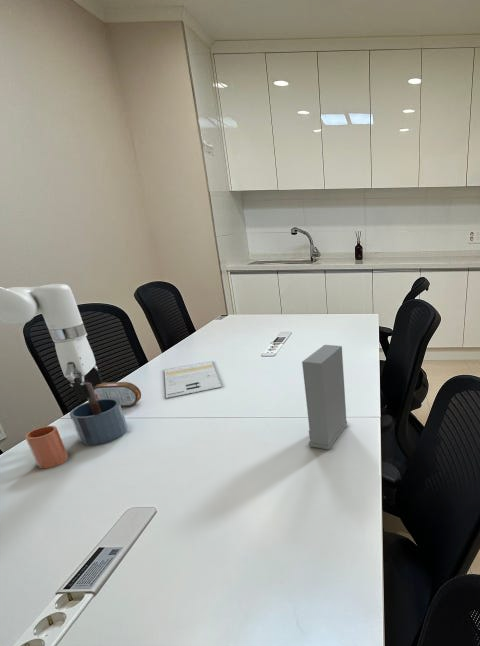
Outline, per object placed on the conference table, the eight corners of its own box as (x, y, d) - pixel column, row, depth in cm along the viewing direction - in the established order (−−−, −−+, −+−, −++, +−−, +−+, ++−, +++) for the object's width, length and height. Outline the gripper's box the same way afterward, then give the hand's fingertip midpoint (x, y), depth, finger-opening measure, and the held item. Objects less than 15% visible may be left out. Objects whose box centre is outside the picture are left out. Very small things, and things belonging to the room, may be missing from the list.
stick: (99, 435, 113) (81, 385, 107) (101, 431, 115) (83, 382, 109) (107, 433, 114) (89, 384, 107) (109, 430, 116) (91, 381, 109)
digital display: (211, 361, 168) (221, 386, 144) (211, 362, 168) (221, 386, 144) (164, 369, 161) (166, 397, 136) (164, 370, 161) (166, 398, 136)
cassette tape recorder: (328, 422, 118) (321, 344, 108) (347, 425, 116) (342, 345, 106) (308, 446, 106) (298, 361, 96) (328, 450, 104) (321, 363, 94)
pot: (73, 449, 108) (62, 420, 104) (88, 428, 118) (78, 401, 115) (122, 441, 111) (112, 413, 107) (132, 421, 122) (124, 395, 118)
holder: (33, 470, 99) (19, 440, 95) (45, 456, 105) (32, 428, 101) (62, 465, 101) (50, 436, 97) (72, 452, 106) (60, 424, 103)
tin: (144, 402, 134) (137, 380, 130) (140, 406, 131) (133, 384, 127) (99, 404, 133) (91, 382, 130) (94, 409, 130) (86, 386, 127)
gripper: (65, 325, 109) (86, 381, 116) (36, 344, 93) (62, 406, 101) (95, 322, 110) (114, 377, 118) (72, 340, 95) (95, 401, 102)
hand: (90, 390), depth 109 cm, fingers open, 9 cm apart
